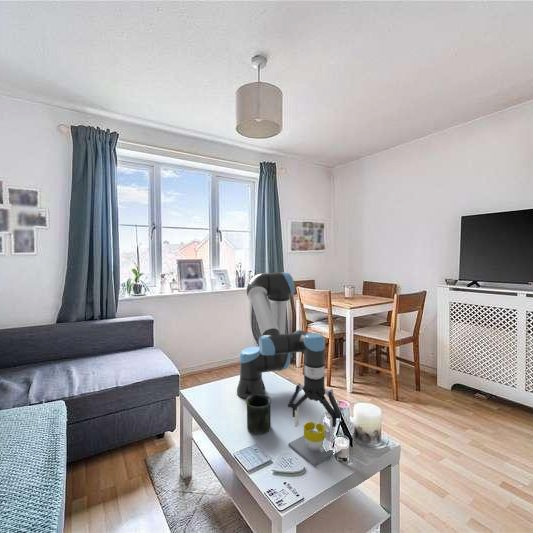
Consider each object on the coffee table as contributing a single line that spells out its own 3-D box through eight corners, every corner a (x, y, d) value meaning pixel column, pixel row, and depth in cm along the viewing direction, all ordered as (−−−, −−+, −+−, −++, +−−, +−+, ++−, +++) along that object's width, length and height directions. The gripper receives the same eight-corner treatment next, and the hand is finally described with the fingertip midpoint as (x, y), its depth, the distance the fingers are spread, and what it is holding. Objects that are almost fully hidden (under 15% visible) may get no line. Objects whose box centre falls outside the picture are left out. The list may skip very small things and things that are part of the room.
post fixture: (288, 445, 114) (288, 433, 114) (314, 432, 123) (314, 420, 122) (314, 466, 103) (314, 453, 103) (340, 450, 111) (341, 437, 111)
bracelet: (324, 443, 108) (324, 434, 108) (302, 440, 110) (302, 431, 110) (325, 431, 115) (325, 423, 115) (304, 428, 117) (304, 420, 117)
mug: (249, 438, 119) (249, 409, 119) (242, 418, 133) (241, 392, 133) (275, 433, 122) (274, 404, 122) (265, 414, 136) (264, 389, 136)
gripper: (279, 373, 113) (279, 426, 115) (346, 385, 103) (345, 444, 104) (286, 366, 120) (286, 416, 121) (349, 377, 110) (349, 432, 111)
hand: (313, 429), depth 113 cm, fingers open, 13 cm apart
